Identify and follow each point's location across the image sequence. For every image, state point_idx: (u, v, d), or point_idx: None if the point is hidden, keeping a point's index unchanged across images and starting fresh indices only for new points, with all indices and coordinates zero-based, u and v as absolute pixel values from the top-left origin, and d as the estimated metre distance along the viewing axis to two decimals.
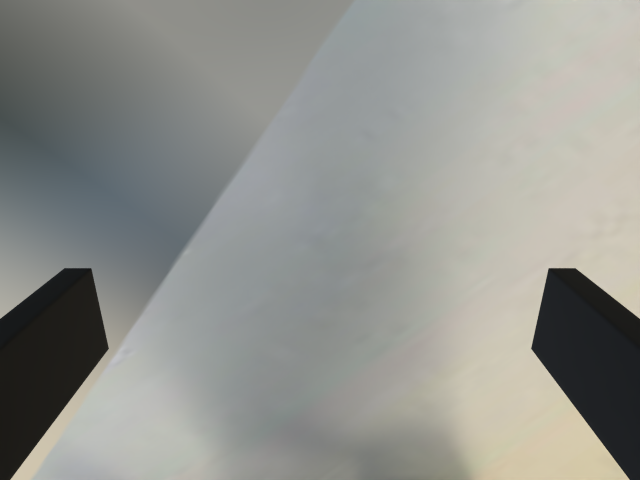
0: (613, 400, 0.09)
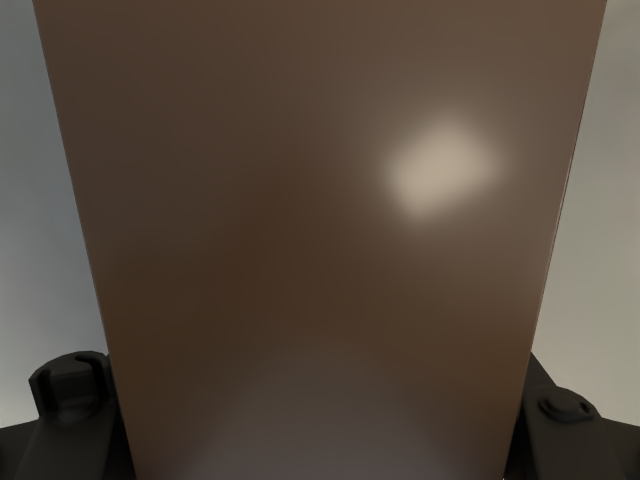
0: None
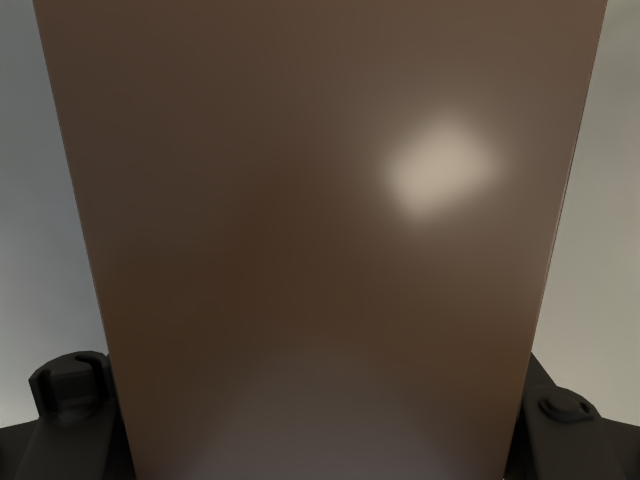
0: None
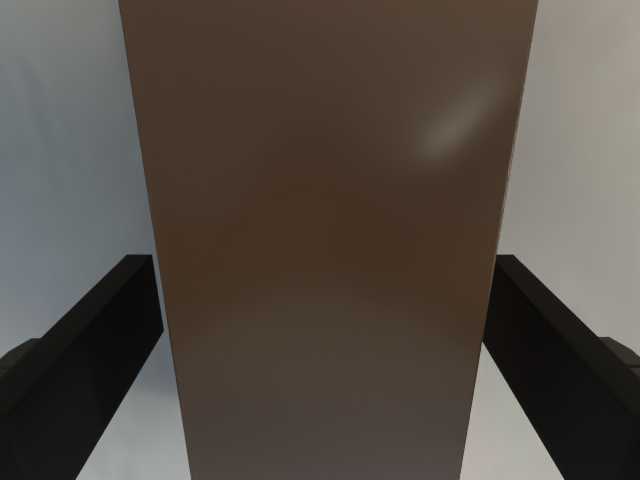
0: (531, 371, 0.10)
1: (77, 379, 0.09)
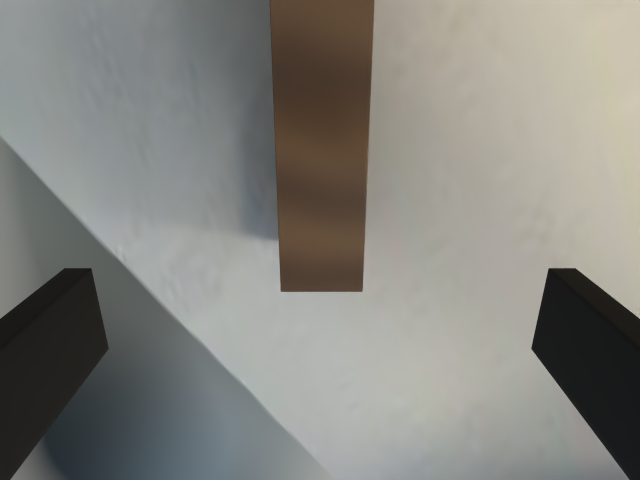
0: (613, 400, 0.09)
1: None
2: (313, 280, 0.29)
